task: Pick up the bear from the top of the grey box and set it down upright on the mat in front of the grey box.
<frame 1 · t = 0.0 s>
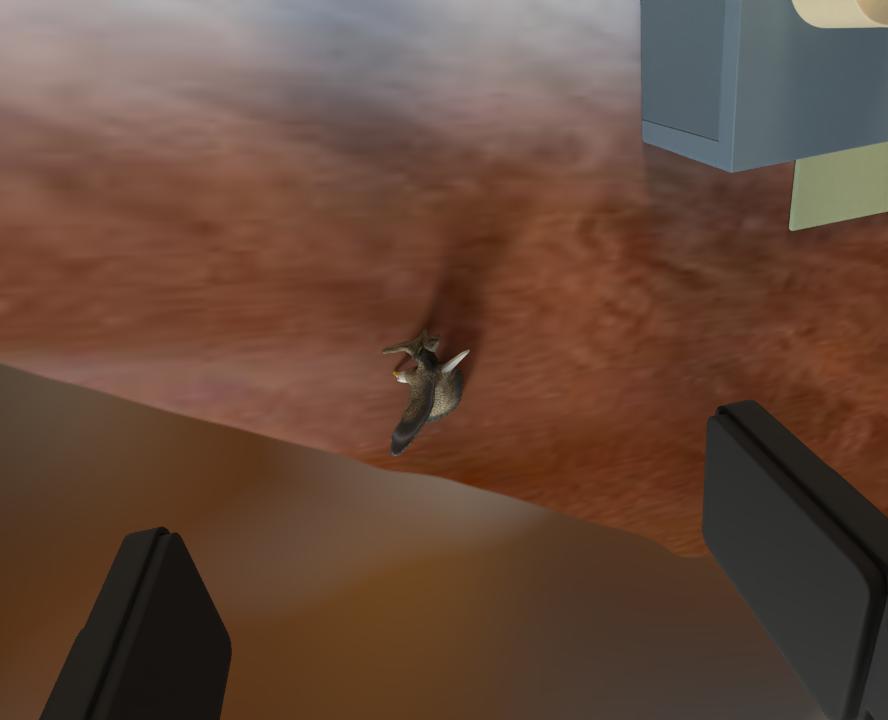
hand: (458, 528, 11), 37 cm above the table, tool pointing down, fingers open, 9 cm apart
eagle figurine: (420, 372, 52), on the table
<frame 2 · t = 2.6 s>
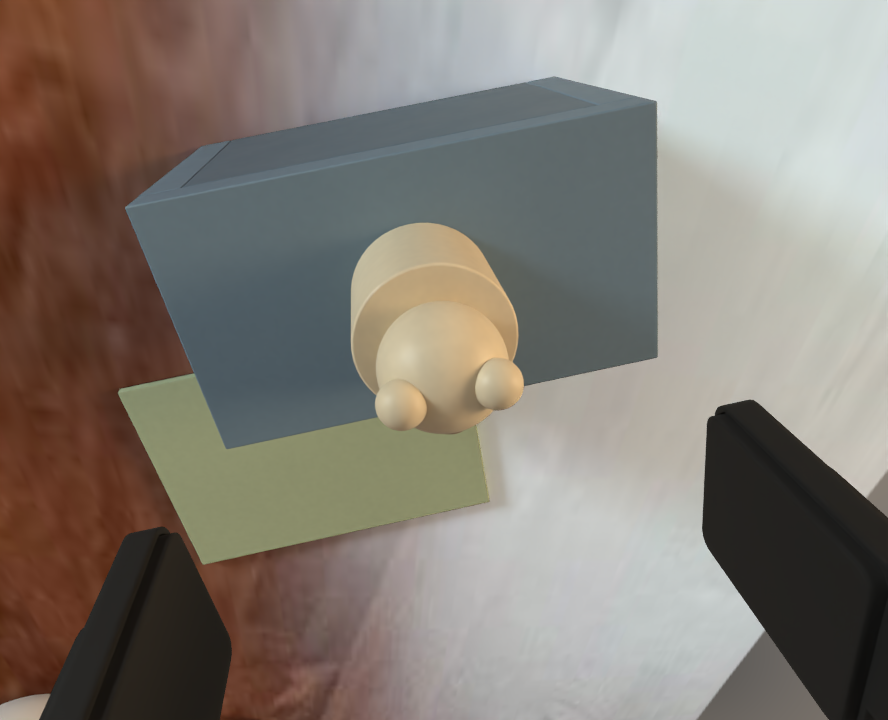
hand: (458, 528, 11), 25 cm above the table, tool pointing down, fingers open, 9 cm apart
bear: (422, 291, 23), point 12 cm above the table, touching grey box
mat: (321, 447, 40), on the table
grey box: (400, 208, 34), on the table
stuffed toy: (110, 709, 49), on the table
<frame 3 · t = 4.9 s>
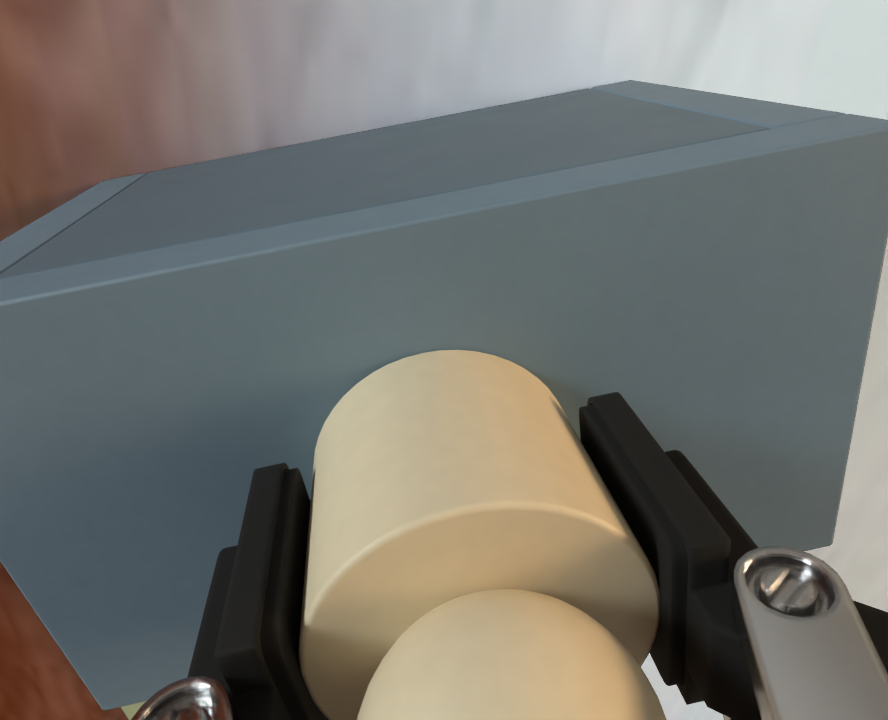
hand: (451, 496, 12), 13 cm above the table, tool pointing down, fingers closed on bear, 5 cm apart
bear: (444, 462, 13), point 12 cm above the table, touching gripper, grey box
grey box: (400, 269, 23), on the table
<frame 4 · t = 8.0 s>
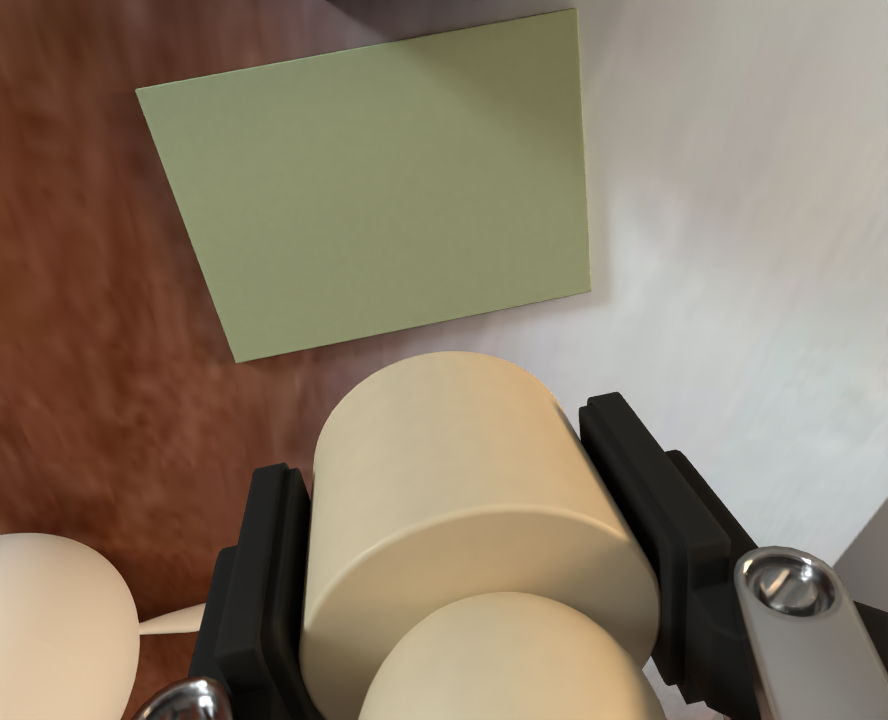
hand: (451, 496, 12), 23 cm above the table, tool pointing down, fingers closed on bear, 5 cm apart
bear: (444, 464, 13), point 22 cm above the table, touching gripper
mat: (389, 200, 32), on the table
stuffed toy: (117, 568, 41), on the table
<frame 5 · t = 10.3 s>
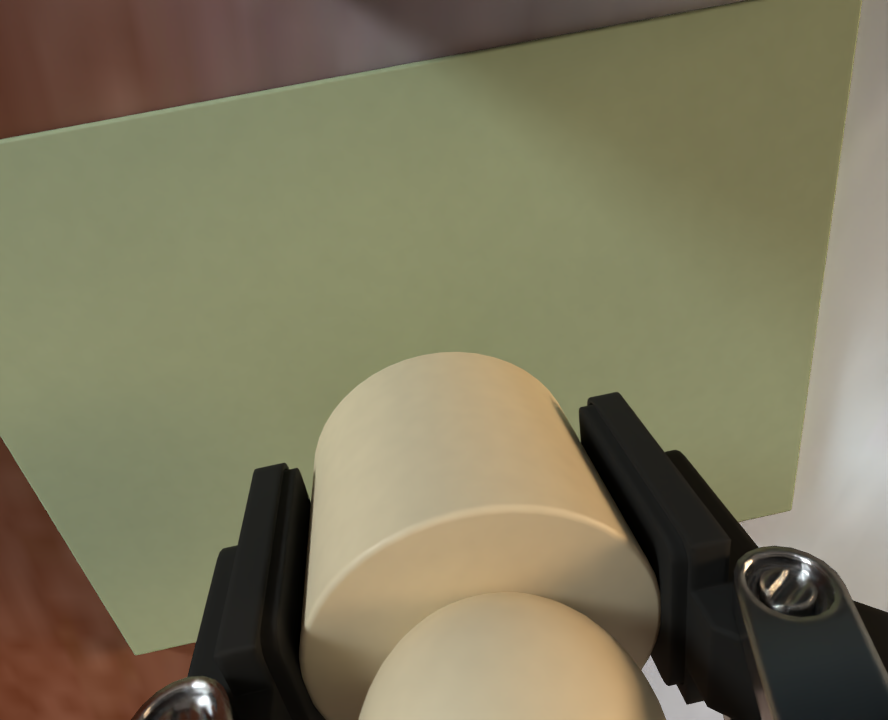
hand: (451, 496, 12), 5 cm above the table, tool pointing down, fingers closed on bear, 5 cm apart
bear: (444, 464, 13), point 4 cm above the table, touching gripper
mat: (428, 372, 16), on the table
when the fingers open (2 cm above the table, at t = 11.6 s): bear stays where it is, resting on mat.
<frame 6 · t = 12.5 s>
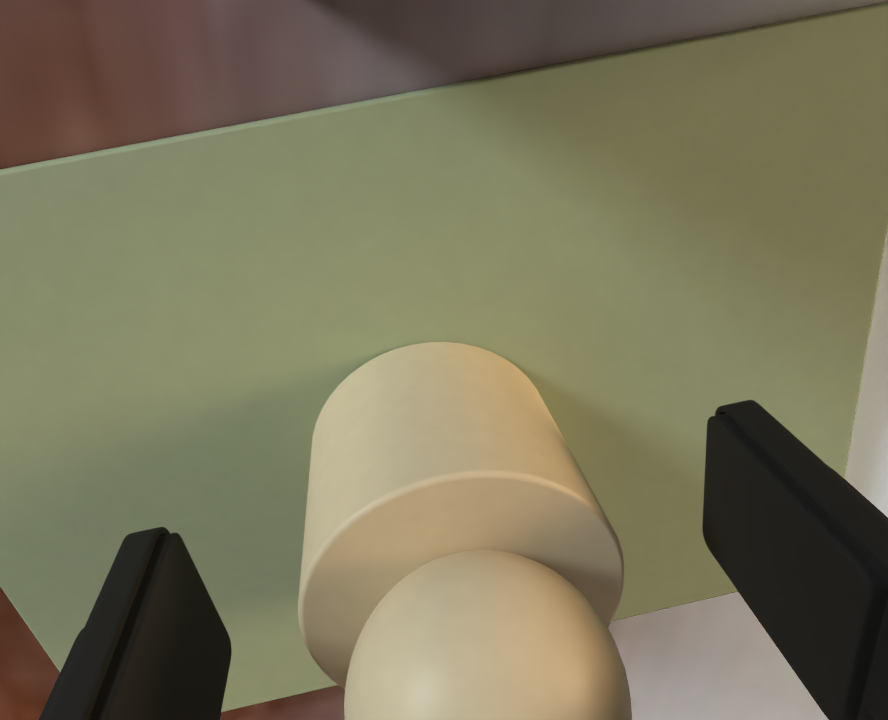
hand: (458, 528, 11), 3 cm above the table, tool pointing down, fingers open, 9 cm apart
bear: (432, 447, 14), resting on mat
mat: (431, 431, 14), on the table
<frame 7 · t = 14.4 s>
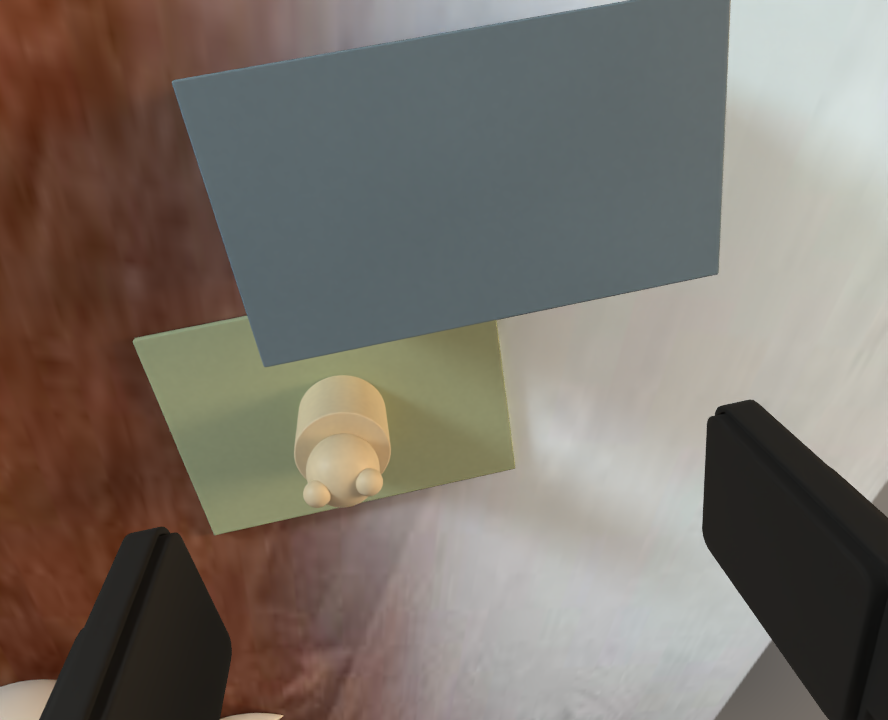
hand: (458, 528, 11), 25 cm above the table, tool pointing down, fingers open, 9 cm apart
bear: (342, 412, 38), resting on mat
mat: (342, 407, 38), on the table
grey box: (434, 146, 33), on the table
stuffed toy: (108, 699, 46), on the table
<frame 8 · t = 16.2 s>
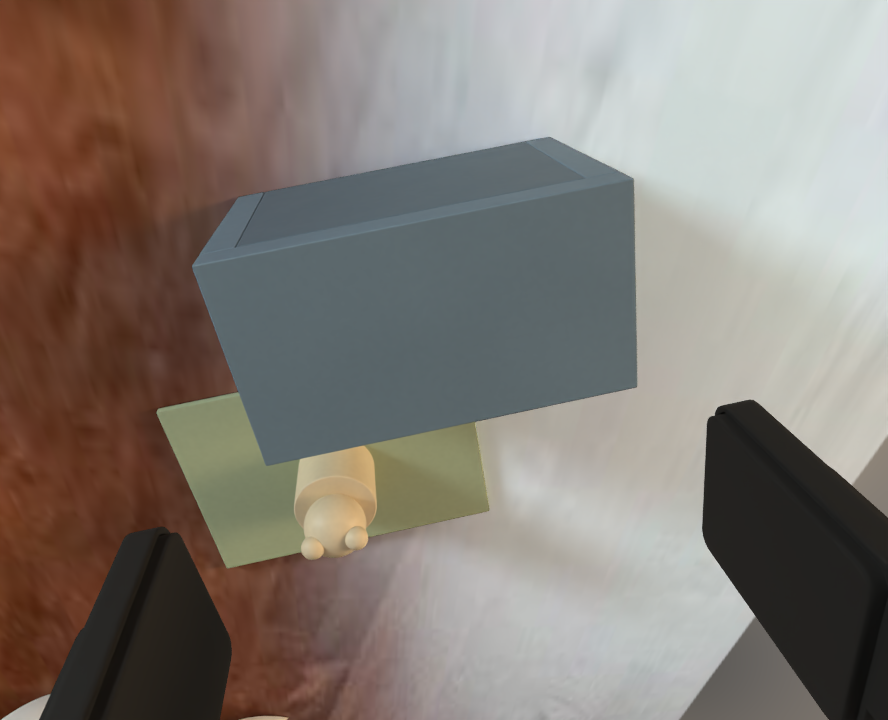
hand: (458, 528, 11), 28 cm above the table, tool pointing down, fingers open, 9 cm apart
bear: (336, 467, 44), resting on mat
mat: (337, 461, 44), on the table
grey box: (412, 250, 38), on the table
stuffed toy: (136, 704, 53), on the table
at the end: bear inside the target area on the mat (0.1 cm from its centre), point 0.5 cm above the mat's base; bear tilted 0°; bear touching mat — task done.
